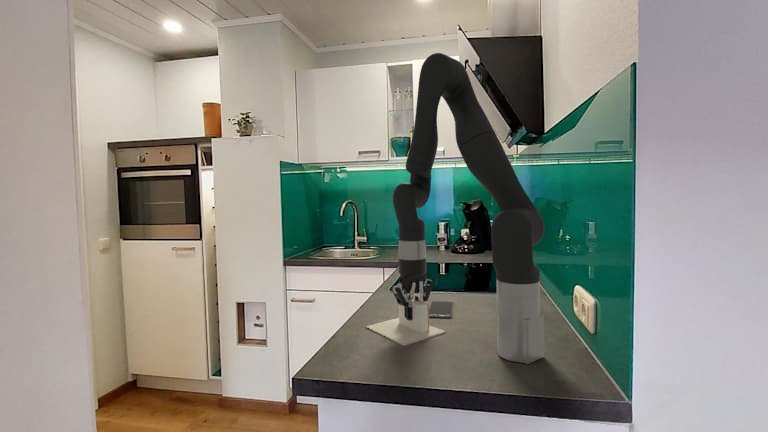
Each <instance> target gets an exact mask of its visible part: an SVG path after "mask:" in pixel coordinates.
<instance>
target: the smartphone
mask: <svg viewBox="0 0 768 432" xmlns="http://www.w3.org/2000/svg"><path fill="white" fill-rule="evenodd" d="M453 308H454V302H453V301H441V300H440V301H437V300H435V301H434V300H433V301H431V302H430V305H429V319H430V318H431V319H432V318H435V319H436V318H437V319H451V318H452V317H453Z"/></svg>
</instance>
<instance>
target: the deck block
mask: <svg viewBox="0 0 768 432" xmlns="http://www.w3.org/2000/svg"><path fill="white" fill-rule="evenodd" d="M429 308H430V305H429V304H427V303H425V302H423V303H422V302H419V301H416V300H414V299H413V300H412V317H413V319H412V320H411V321H409V320H407V319H406V318H405V316H404V313H405V312H404V306H402V305H399V304H398V318H399V323H400V324H403V325H405V326H407V327H410V328H412V329H415V330H417V331H419V332H422V333H423V332H426V331H429V325H430V317H429Z"/></svg>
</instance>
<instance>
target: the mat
mask: <svg viewBox="0 0 768 432" xmlns="http://www.w3.org/2000/svg"><path fill="white" fill-rule="evenodd" d="M365 327H367V328H366V329H368V328H369V329H368V330H369V331H370V330H371V331H372V332H375V334H378V335H380V336H382V337H384V336H385V337H384V338H386V339H389V340H391V341H392V342H394V343H396V344H398V345H401V346H403V347H405V346H408V345H411V344H412V345H413V344H415V343H417V342H421V341H423V340H424V341H425V340H427V339H430V338H434V337H437V336H439V335H442V334H446V330H443V329H441V328H437V327H435V326H433V325H430V324H429V331H426V332H423V333H422V332H419V331H417V330H415V329H412V328H410V327H407V326H405V325H403V324H400V323H399V317H396V318H393V319H389V320H386V321H382V322H378V323H374V324H370V325H367V326H365Z"/></svg>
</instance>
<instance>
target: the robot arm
mask: <svg viewBox="0 0 768 432" xmlns="http://www.w3.org/2000/svg"><path fill="white" fill-rule="evenodd" d="M441 98H443V100H444V102H446V105H447V106H448V108H449V110H450V111H451V114H452V116H453V120H454V125H455V127H454V130H455V132H454V133H455V141H456V145H457V149H458V151H459V152H460V155H461V156H462V159H463V161H464V163H465V165H466V167H467V169H468V170H469V171H470V173H471V174H472V176H474V178H475V179H476V180H477V181H478V182H479V184H480V185H482V186H483V187H484V188H485V189H486V190H487V192H488V193H489V194H490V195H491V196H492V198H493V200H494V201H495V203H496V205H497V208H498V210H499V211H500V212H498V213H497V215H496V216H495V217H494V218H493V220H492V225H491V230H490V231H491V233H490V235H491V236H490V238H491V239H490V241H491V252H492V253H491V256H492V266H493V267H494V270H495V273H496V276H495V277H496V335H497V336H496V338H497V339H496V340H497V345H496V346H497V349H496V350H497V354H498V356H500V358H503V359H504V360H507V361H511V362H514V363H523V364H526V365H529V364H532V363H534V362H535V361H536V362H537V361H538V360H540V359H543V358H545V316H544V315H543V314H541V283H540V282H541V281H540V280H541V278H540V277H541V274H540V273H541V272H540V268H539V266H537V265H536V264H535V262H534V255H533V247H534V246H536V245H537V244H539V243H541V241H542V240H543V238H544V235H545V230H546V229H545V228H546V227H545V223H544V219H543V218H542V215H541V213H540V212H539V211H538V209H537V207H536V206H535V204H534V203H533V201H532V200H531V198H530V197H529V196H528V194H527V192H526V191H525V189H524V188H523V186H522V184H521V182H520V181H519V178H518V176H517V174H516V172H515V170H514V167H513V166H512V164H511V162H510V159H509V157H508V156H507V154H506V151H505V150H504V147H503V146H502V143H501V141H500V138H499V137H498V135H497V133H496V131H495V129H494V128H493V126H492V124H491V123H490V120H489V118H488V117H487V115H486V113H485V111H484V109H483V108H482V106H481V105H480V102H479V100H478V98H477V96H476V93H475V90H474V88H473V85H472V82H471V79H470V77H469V74H468V71H467V69H466V67H465V66H464V65H463V64H462V62H460V61H459V60H457V59H455V58H453V57H451V56H449V55H448V54H444V53H442V52H441V53H440V52H435V53H432V54H430V55H428V57H427V58H426V59H425V60H424V62H423V63H422V65H421V68H420V73H419V80H418V87H417V100H416V108H415V109H416V110H415V118H414V126H413V127H414V128H413V133H412V137H411V142H410V144H409V145H410V146H409V149H408V153H407V158H406V161H405V170H406V171H407V172H408V173H409V175H410V177H409V182H402V183H399V184H398V185H397V186H396V187H395V189H394V191H393V195H392V203H393V208H394V212H395V218H396V220H397V223H398V238H399V239H398V248H397V249H398V252H397V253H398V274H399V276H400V278H399V280H398V283H397V284H396V285H392V286H391V287H390V289H391V292H392V293H393V296H394V298H395V300H396V302H397V304H398V306H399V305H402V306H404V312H405V313H404V316H405V318H406V319H407V320H409V321H411V320H412V319H413V317H412V300H416V301H419V302H422V303H425V302H428V301H429V299H430V295H431V292H432V289H433V286H434V282H435V281H434V280H432V279H428V278H427V276H426V274H427V244H426V233H425V232H426V230H425V229H426V226H425V221H424V219H422V218H420V217H419V216H418V210H417V209H419V208H420V209H421V208H422V207H424V206H425V205H426V204H427V202H428V201H429V198H430V195H431V187H432V169H433V166H434V162H435V158H436V155H437V151H438V146H439V134H438V133H439V132H438V108H439V104H440V101H441Z"/></svg>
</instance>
